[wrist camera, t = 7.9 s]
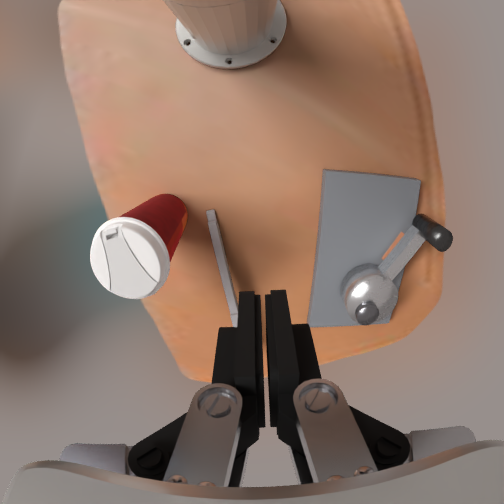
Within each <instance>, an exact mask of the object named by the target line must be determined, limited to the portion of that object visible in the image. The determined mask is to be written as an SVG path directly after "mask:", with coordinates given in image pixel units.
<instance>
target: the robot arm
mask: <svg viewBox="0 0 504 504" xmlns="http://www.w3.org/2000/svg"><path fill="white" fill-rule="evenodd" d="M163 1H164V2H165V3H166V5H167V6H168V7H169V8H170V10H171V11H172V12H173V13H174V15H175V16H176V17H177V19H176V34H177V38H178V41H179V43H180V44H181V46H182V48H183V49H184V50H185V51H186V52H187V53H188V54H189V55H190V56H191V57H192V58H193V59H195V60H197V61H198V62H200V63H202V64H205V65H207V66H210V67H215V68H220V69H235V68H243V67H246V66H250V65H253V64H255V63H257V62H259V61H261V60H263V59H264V58H266V57H267V56H269V55H270V54H271V53H272V52H273V51H274V50H275V49H276V48H277V47H278V45H279V44H280V42H281V41H282V39H283V36H284V34H285V30H286V25H287V20H286V13H285V9H284V7H283V5H282V3H281V1H280V0H163ZM272 40H273V41H275V43H271V42H270V41H272ZM188 43H191V44H190V45H188V46H187V44H188ZM228 61H232V63H231V64H228ZM265 310H266V343H267V366H268V386H269V404H270V405H269V406H270V426H271V427H277V435H278V438H279V439H280V440H282V441H283V442H284V443H286V444H287V445H288V448H289V452H290V456H291V460H292V463H293V467H294V470H295V474H296V478H297V481H298V485H290V486H276V487H242V484H243V479H244V473H245V469H246V464H247V459H248V454H249V447H250V446H251V445H252V444H254V443H255V442H256V441H257V440H258V439H259V428H261V427H265V402H264V374H263V348H262V323H261V300H260V295H255V294H254V291H245V292H239V305H238V320H237V327H220V328H219V332H218V339H217V346H216V354H215V362H214V369H213V377H212V384H210V385H207V386H205V387H203V388H201V389H200V390H199V391H197V392H196V393H195V395H194V397H193V399H192V402H191V404H190V407H189V410H188V412H187V413H185V414H184V415H182V416H181V417H179V418H178V419H176V420H175V421H173V422H171V423H170V424H168V425H167V426H165V427H163V428H162V429H160V430H158V431H157V432H155V433H153V434H152V435H150V436H149V437H147V438H145V439H143V440H142V441H140V442H138V443H137V444H136V445H134V446H126V444H82V443H75V444H70V445H69V446H66V447H65V448H64V450H63V451H62V453H61V456H60V461H57V460H55V461H54V460H45V461H37V462H32V463H28V464H26V465H24V466H23V467H21V468H20V469H19V470H18V471H17V473H16V474H15V476H14V477H13V479H12V481H11V483H10V485H9V486H8V489H7V491H6V494H5V496H4V499H3V502H2V504H504V441H502V440H484V441H477V442H476V439H475V436H474V434H473V432H472V431H471V430H470V429H469V428H466V427H464V426H456V427H448V428H440V429H430V430H419V431H411V432H410V433H409V434H403V433H401V432H400V431H398V430H396V429H394V428H392V427H390V426H388V425H386V424H384V423H382V422H380V421H378V420H376V419H374V418H372V417H370V416H368V415H366V414H364V413H362V412H360V411H359V410H357V409H355V408H353V407H351V406H349V405H348V403H347V401H346V399H345V397H344V395H343V392H342V391H341V389H340V388H339V387H338V386H337V385H336V384H334V383H333V382H331V381H328V380H326V379H321V374H320V370H319V365H318V361H317V356H316V352H315V347H314V343H313V339H312V335H311V330H310V326H309V324H308V323H307V324H291V318H290V312H289V306H288V300H287V295H286V290H271V294H267V295H265Z"/></svg>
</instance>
